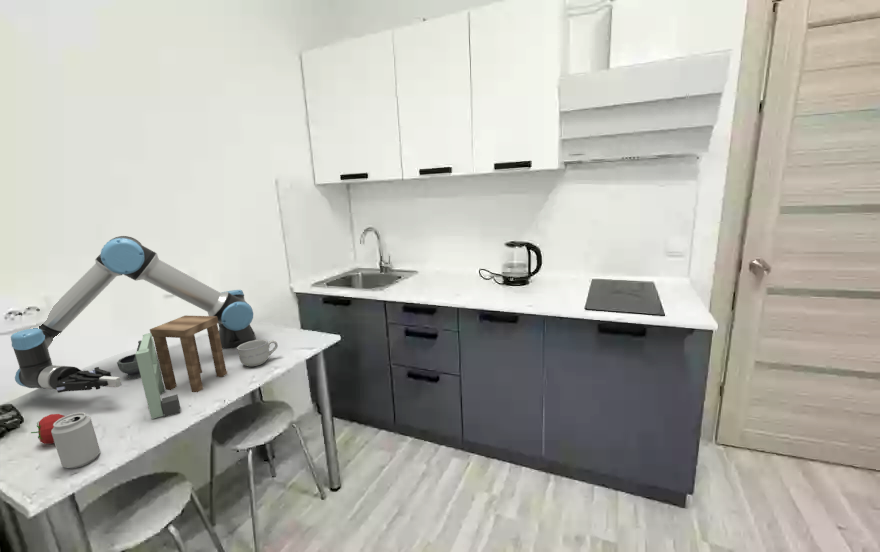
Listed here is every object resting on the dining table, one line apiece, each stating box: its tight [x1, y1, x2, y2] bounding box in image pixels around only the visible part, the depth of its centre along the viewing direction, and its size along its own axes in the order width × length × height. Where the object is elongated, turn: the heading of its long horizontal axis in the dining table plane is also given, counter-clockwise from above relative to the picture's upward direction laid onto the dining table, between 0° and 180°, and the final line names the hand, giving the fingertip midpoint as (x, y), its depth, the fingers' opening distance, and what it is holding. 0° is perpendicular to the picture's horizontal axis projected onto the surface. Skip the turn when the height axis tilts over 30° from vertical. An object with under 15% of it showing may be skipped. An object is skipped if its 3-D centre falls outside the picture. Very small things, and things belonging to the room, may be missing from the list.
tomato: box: [30, 413, 66, 445], centre depth 113 cm, size 8×8×8 cm
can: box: [51, 412, 101, 469], centre depth 103 cm, size 8×8×12 cm
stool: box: [149, 315, 228, 393], centre depth 142 cm, size 14×14×22 cm
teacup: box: [236, 339, 278, 367], centre depth 157 cm, size 14×11×8 cm
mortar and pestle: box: [116, 340, 142, 380], centre depth 152 cm, size 11×9×12 cm
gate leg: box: [134, 333, 166, 420], centre depth 128 cm, size 20×3×21 cm, turn 31°
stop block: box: [161, 393, 181, 418], centre depth 125 cm, size 4×4×4 cm
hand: (118, 382), depth 127 cm, fingers closed
